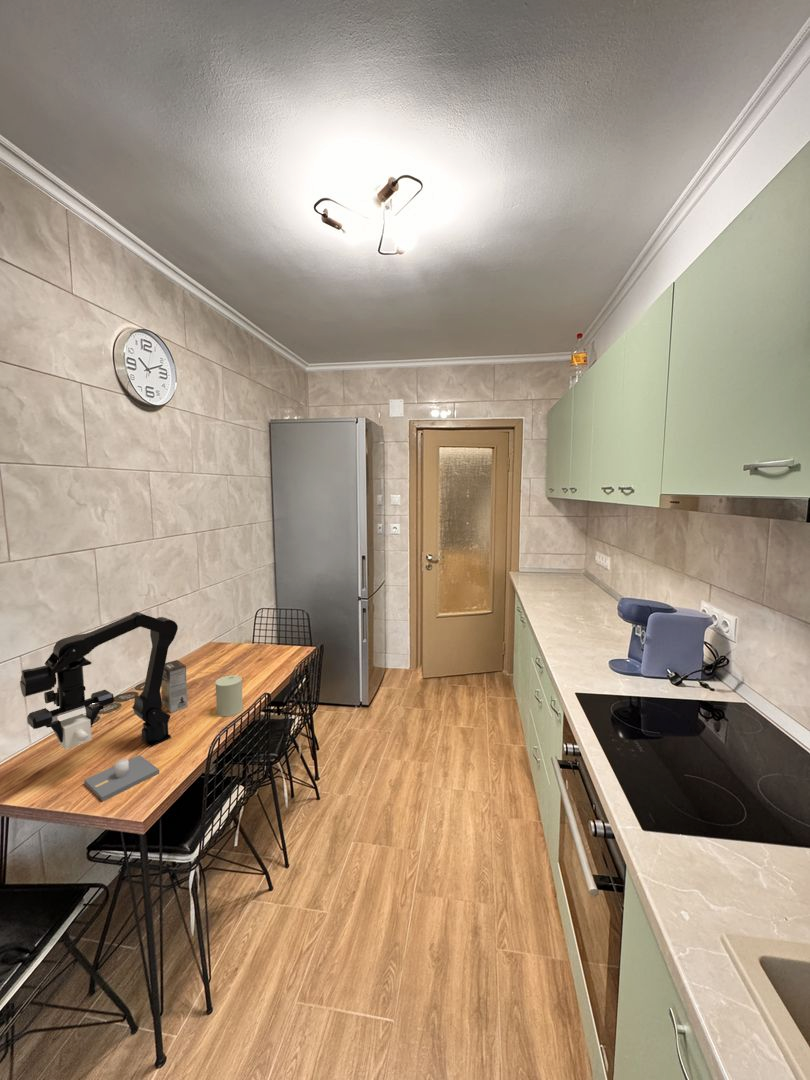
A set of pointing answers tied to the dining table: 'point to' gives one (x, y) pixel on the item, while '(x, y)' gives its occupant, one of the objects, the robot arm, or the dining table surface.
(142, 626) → the robot arm
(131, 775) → the grey slotted slab
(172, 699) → the coffee box
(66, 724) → the cream rectangular block
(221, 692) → the can
